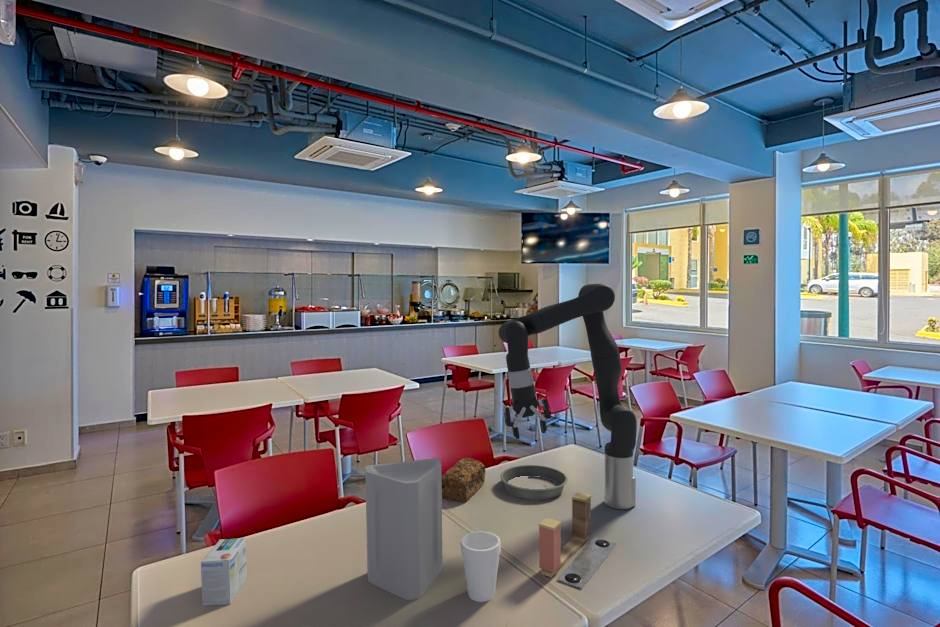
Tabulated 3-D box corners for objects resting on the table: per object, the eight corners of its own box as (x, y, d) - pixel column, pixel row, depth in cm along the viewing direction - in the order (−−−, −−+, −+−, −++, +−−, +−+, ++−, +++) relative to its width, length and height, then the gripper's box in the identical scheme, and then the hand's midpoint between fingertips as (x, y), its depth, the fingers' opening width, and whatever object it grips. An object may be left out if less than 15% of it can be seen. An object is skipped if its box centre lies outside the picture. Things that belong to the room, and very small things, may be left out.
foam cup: (501, 583, 121) (501, 531, 121) (500, 607, 112) (499, 551, 112) (463, 581, 122) (463, 530, 122) (459, 604, 113) (458, 550, 113)
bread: (461, 480, 188) (461, 454, 188) (487, 484, 184) (486, 458, 184) (439, 499, 171) (438, 471, 171) (467, 504, 167) (466, 475, 167)
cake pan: (573, 502, 168) (573, 489, 168) (502, 502, 168) (501, 489, 168) (561, 475, 193) (561, 464, 192) (498, 475, 193) (498, 464, 193)
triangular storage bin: (372, 607, 113) (370, 487, 111) (367, 572, 127) (365, 465, 126) (452, 592, 118) (451, 478, 117) (439, 560, 132) (437, 457, 131)
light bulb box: (220, 580, 124) (219, 538, 124) (248, 578, 125) (246, 536, 124) (201, 607, 113) (199, 561, 113) (231, 605, 114) (229, 559, 114)
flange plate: (594, 538, 143) (594, 536, 143) (616, 545, 139) (616, 543, 139) (557, 580, 122) (557, 578, 122) (581, 589, 119) (581, 586, 119)
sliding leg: (546, 560, 129) (546, 517, 128) (561, 565, 126) (561, 521, 126) (538, 568, 125) (538, 523, 125) (553, 573, 123) (553, 528, 122)
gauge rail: (577, 533, 146) (577, 491, 145) (591, 537, 143) (591, 494, 143) (538, 573, 125) (538, 524, 125) (553, 579, 123) (553, 529, 122)
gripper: (503, 390, 147) (512, 443, 147) (547, 380, 150) (556, 433, 150) (496, 387, 155) (505, 438, 155) (539, 378, 157) (547, 428, 157)
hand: (530, 435), depth 152 cm, fingers open, 8 cm apart
